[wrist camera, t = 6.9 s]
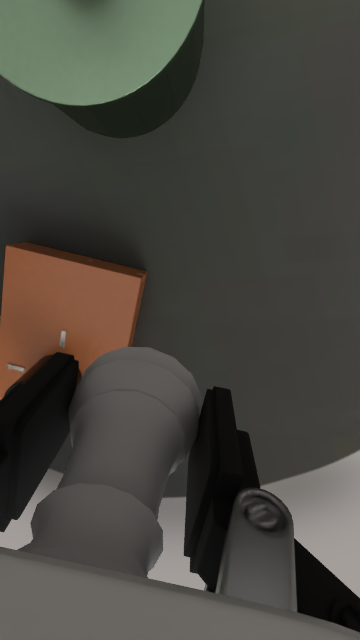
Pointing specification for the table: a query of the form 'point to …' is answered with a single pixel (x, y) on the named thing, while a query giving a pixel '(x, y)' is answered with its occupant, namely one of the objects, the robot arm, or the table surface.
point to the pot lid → (91, 46)
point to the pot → (147, 97)
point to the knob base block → (63, 308)
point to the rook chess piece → (119, 462)
